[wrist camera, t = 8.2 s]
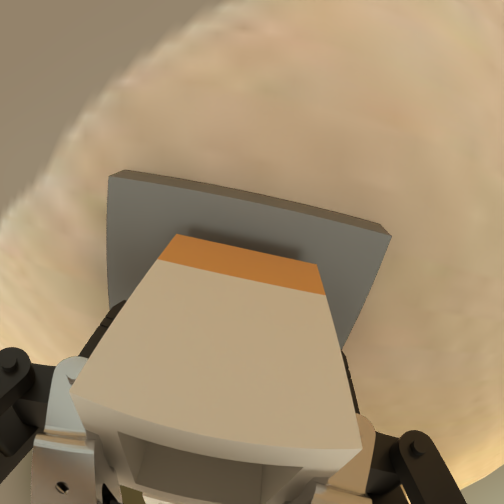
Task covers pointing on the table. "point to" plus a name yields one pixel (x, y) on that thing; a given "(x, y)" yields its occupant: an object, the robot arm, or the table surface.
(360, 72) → the table surface
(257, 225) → the pin board
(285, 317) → the sleeve
